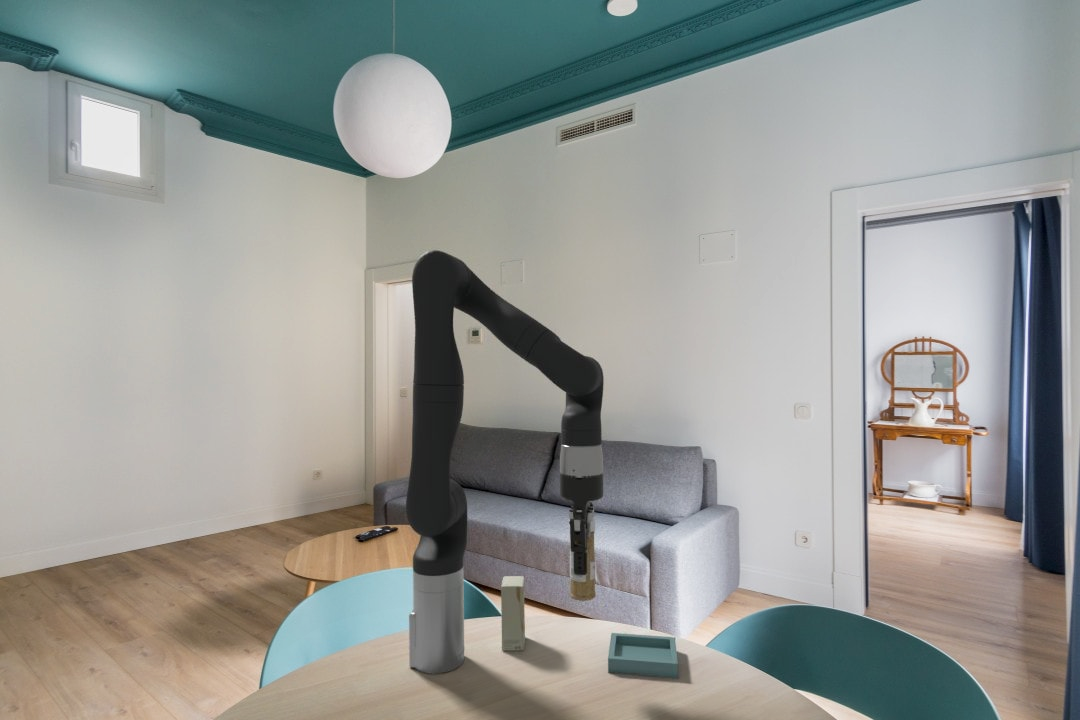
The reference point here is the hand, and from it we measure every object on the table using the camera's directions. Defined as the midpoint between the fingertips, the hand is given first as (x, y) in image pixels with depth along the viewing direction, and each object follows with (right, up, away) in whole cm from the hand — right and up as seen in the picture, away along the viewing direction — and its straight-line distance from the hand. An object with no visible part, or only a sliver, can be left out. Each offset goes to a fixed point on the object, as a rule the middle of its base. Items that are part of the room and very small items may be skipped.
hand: (582, 568), depth 99 cm
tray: (+12, -19, +6) cm, 23 cm away
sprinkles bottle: (0, -5, 0) cm, 5 cm away
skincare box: (-13, -20, +13) cm, 27 cm away
